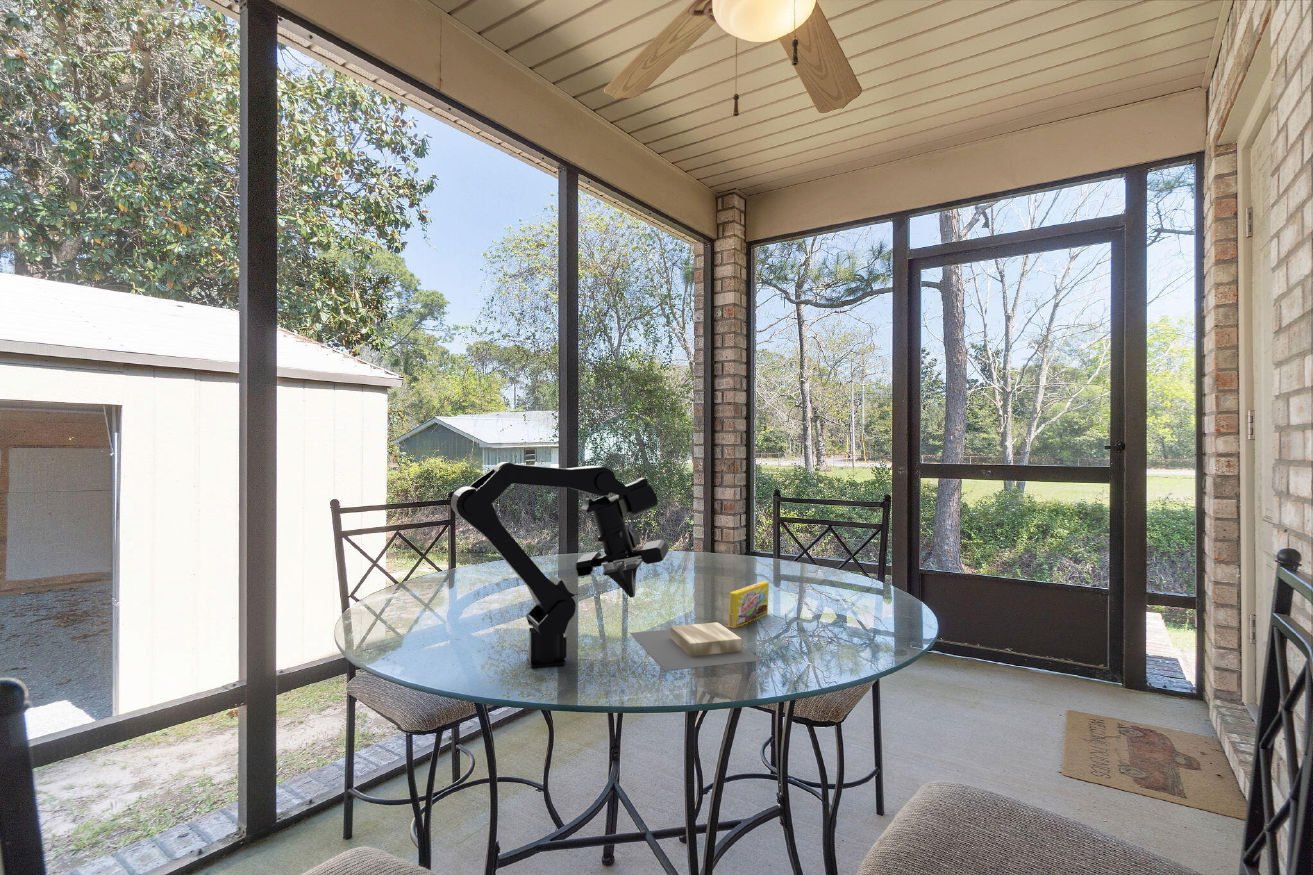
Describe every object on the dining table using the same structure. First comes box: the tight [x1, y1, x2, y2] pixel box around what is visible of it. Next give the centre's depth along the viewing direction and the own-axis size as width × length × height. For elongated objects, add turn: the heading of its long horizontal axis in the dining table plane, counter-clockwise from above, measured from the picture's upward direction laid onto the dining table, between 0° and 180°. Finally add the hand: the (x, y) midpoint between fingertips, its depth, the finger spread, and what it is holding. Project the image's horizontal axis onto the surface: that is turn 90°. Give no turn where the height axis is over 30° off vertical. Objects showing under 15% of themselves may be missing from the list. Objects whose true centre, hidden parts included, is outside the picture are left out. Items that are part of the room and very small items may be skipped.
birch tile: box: [669, 621, 742, 656], centre depth 133 cm, size 2×12×11 cm
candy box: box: [727, 580, 770, 629], centre depth 152 cm, size 16×2×8 cm, turn 143°
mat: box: [629, 629, 762, 672], centre depth 132 cm, size 20×24×1 cm
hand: (632, 596), depth 131 cm, fingers closed
